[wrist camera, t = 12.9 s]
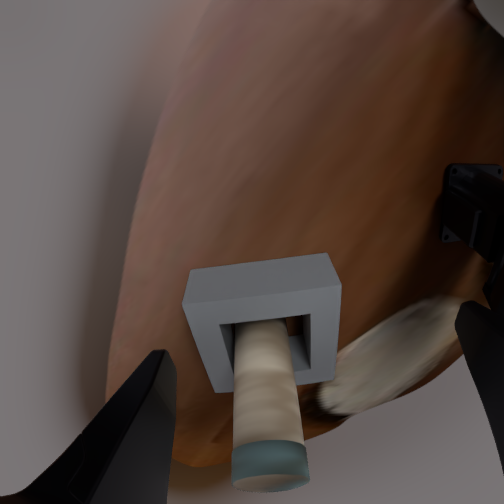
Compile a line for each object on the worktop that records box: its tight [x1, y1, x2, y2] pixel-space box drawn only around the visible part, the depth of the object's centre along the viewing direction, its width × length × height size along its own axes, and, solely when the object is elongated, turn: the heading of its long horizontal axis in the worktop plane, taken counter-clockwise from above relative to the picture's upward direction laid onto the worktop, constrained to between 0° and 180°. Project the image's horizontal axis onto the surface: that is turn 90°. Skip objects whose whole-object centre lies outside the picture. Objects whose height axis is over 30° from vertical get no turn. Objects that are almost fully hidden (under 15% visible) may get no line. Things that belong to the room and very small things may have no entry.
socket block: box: [182, 253, 342, 393], centre depth 22 cm, size 10×10×4 cm
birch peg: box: [232, 317, 310, 493], centre depth 18 cm, size 4×4×14 cm
